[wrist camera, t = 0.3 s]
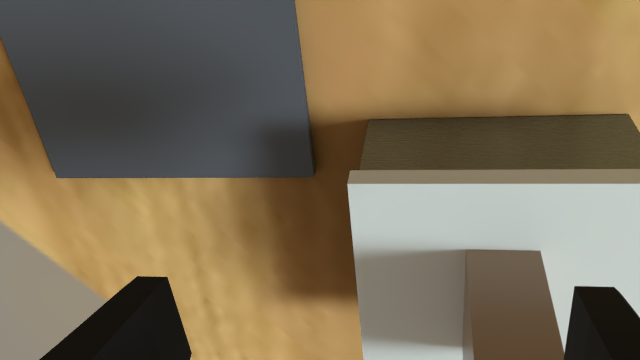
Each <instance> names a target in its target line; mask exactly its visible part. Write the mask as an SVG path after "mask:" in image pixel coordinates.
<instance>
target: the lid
mask: <svg viewBox="0 0 640 360" xmlns="http://www.w3.org/2000/svg"><path fill="white" fill-rule="evenodd" d="M347 186H348V197H349V208H350V218H351V229H352V240H353V251H354V262H355V272H356V283H357V294H358V305H359V316H360V327H361V337H362V348H363V359H364V360H563V359H564V353H565V346H566V339H567V333H568V326H569V319H570V313H571V306H572V299H573V293H574V286H596V287H615V288H616V289H617V290H618V291H619V292H620V293H621V294H622V295H623V297H624V298H625V299H626V300H627V302H628V303H629V304H630V306H631V307H632V308H633V309H634V311H635V312H636V313H637V314H638V316H639V317H640V169H527V170H350V174H349V178H348V183H347Z"/></svg>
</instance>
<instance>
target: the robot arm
mask: <svg viewBox="0 0 640 360" xmlns="http://www.w3.org/2000/svg"><path fill="white" fill-rule="evenodd" d="M191 354H192V353H191V350H190V346H189V343H188V340H187V337H186V334H185V331H184V328H183V325H182V321H181V318H180V315H179V312H178V309H177V306H176V303H175V300H174V296H173V293H172V290H171V287H170V284H169V281H168V278H167V277H141V276H137V277H136V278H135V279H134V280H132V281H131V282H130V283H129V284H127V285H126V286H125V287H124V288H123V289H121V290H120V291H119V292H118V293H117V294H116V295H114V296H113V297H112V298H111V299H110V300H109V301H107V302H106V303H105V304H104V305H103V306H102V307H100V308H99V309H98V310H97V311H96V312H95V313H94V314H92V315H91V316H90V317H89V318H88V319H87V320H86V321H84V322H83V323H82V324H81V325H80V326H79V327H78V328H76V329H75V330H74V331H73V332H72V333H70V334H69V335H68V336H67V337H66V338H64V339H63V340H62V341H61V342H60V343H59V344H58V345H56V346H55V347H54V348H53V349H52V350H50V351H49V352H48V353H47V354H46V355H44V356H43V357H42V358H41V359H40V360H190V357H191ZM563 360H640V317H639V316H638V314H637V313H636V312H635V311H634V309H633V308H632V307H631V306H630V304H629V303H628V302H627V300H626V299H625V298H624V297H623V295H622V294H621V293H620V292H619V291H618V290H617V289H616V288H615V287H596V286H574V293H573V299H572V306H571V313H570V319H569V326H568V333H567V339H566V346H565V353H564V359H563Z"/></svg>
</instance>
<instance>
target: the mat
mask: <svg viewBox="0 0 640 360" xmlns="http://www.w3.org/2000/svg"><path fill="white" fill-rule="evenodd" d="M0 37H1V39H2V42H3V44H4V47H5V49H6V52H7V54H8V57H9V59H10V62H11V64H12V67H13V69H14V72H15V74H16V77H17V79H18V82H19V85H20V87H21V90H22V92H23V95H24V97H25V100H26V102H27V105H28V107H29V110H30V112H31V115H32V117H33V120H34V122H35V125H36V127H37V130H38V132H39V135H40V137H41V140H42V142H43V145H44V147H45V150H46V152H47V155H48V157H49V160H50V162H51V165H52V167H53V170H54V172H55V175H56V177H57V178H235V177H314V176H315V172H316V169H315V161H314V153H313V145H312V137H311V128H310V120H309V112H308V104H307V96H306V88H305V80H304V72H303V64H302V56H301V48H300V40H299V32H298V24H297V16H296V8H295V0H0Z"/></svg>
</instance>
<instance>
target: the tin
mask: <svg viewBox="0 0 640 360" xmlns="http://www.w3.org/2000/svg"><path fill="white" fill-rule="evenodd" d="M527 169H640V132H639V131H638V129H637V127H636V126H635V124H634V122H633V121H632V119H631V117H630V116H629V114H628V115H579V116H530V117H481V118H432V119H383V120H368V126H367V131H366V136H365V141H364V146H363V152H362V157H361V162H360V167H359V170H527Z"/></svg>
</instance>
